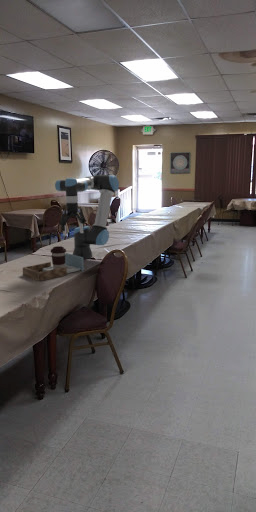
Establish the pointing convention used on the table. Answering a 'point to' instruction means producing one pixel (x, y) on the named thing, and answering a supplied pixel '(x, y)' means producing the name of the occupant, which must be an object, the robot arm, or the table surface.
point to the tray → (71, 263)
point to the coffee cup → (58, 257)
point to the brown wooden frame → (37, 273)
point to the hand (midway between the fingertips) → (73, 234)
